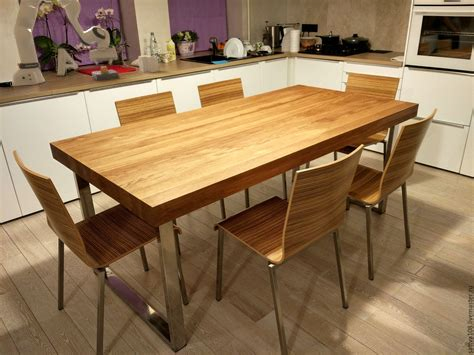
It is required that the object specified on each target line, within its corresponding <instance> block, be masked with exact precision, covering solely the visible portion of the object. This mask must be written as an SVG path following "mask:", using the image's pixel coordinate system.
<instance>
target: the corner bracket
mask: <svg viewBox="0 0 474 355" xmlns="http://www.w3.org/2000/svg"><path fill="white" fill-rule="evenodd" d="M137 58H138V64H139V67H138V68H139V72H141V73H147V72H148V73H155V72H160V64H159V61H158V60H157V59H156V58H155V57H154V56H153V55H145V54H144V55H138V56H137Z"/></svg>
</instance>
